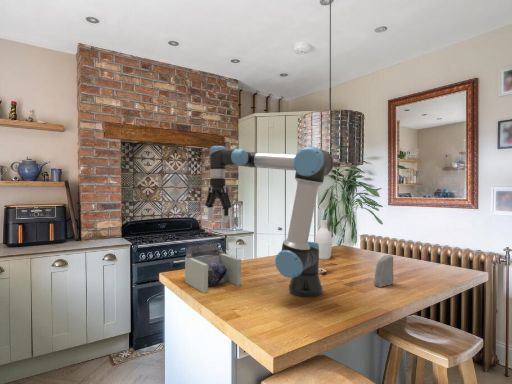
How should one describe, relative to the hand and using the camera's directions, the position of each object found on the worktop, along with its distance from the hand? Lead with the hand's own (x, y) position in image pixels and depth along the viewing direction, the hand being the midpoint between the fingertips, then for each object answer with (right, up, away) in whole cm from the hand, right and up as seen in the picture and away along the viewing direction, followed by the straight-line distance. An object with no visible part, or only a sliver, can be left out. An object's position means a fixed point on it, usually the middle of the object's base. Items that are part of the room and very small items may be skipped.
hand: (217, 221), depth 153 cm
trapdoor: (-8, -25, +7) cm, 27 cm away
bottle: (+65, -31, +59) cm, 93 cm away
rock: (-3, -27, +1) cm, 27 cm away
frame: (-3, -31, +1) cm, 31 cm away
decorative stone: (+82, -32, +1) cm, 88 cm away
